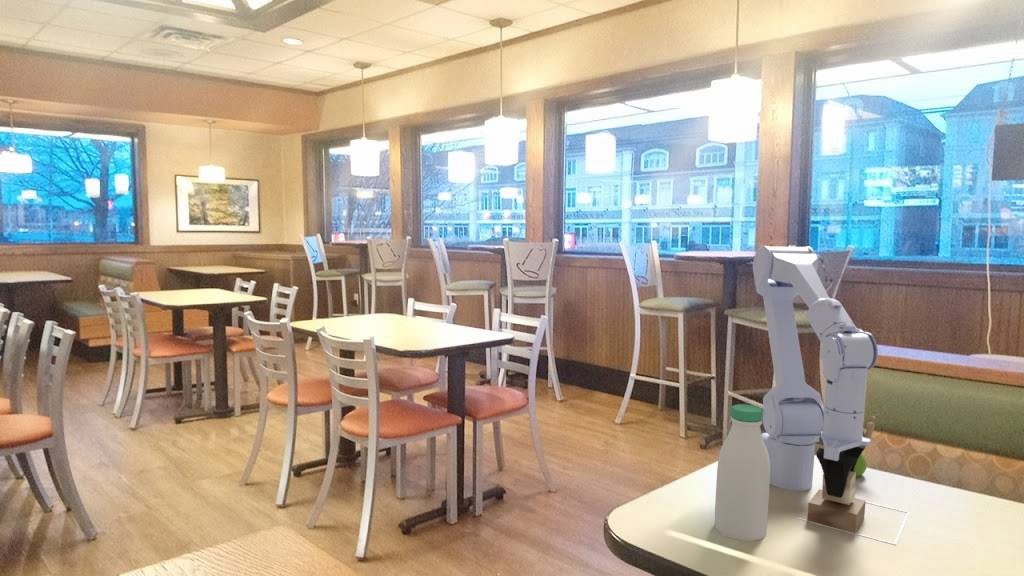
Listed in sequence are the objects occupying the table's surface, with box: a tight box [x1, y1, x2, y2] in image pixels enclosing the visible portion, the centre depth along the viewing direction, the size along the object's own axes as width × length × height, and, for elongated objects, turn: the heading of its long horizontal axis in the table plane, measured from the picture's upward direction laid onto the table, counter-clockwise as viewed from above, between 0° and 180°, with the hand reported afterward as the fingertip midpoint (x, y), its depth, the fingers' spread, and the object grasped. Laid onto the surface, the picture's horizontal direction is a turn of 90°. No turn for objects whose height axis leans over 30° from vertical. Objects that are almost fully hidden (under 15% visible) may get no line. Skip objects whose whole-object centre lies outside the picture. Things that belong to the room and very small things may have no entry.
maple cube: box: [821, 471, 857, 505], centre depth 110 cm, size 4×4×4 cm
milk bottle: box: [714, 403, 771, 542], centre depth 106 cm, size 8×8×20 cm
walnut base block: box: [806, 489, 867, 534], centre depth 111 cm, size 7×7×3 cm
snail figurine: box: [854, 415, 877, 478], centre depth 130 cm, size 5×6×12 cm
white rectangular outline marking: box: [796, 501, 911, 546], centre depth 113 cm, size 15×15×1 cm
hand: (837, 491), depth 110 cm, fingers closed on maple cube, 4 cm apart
